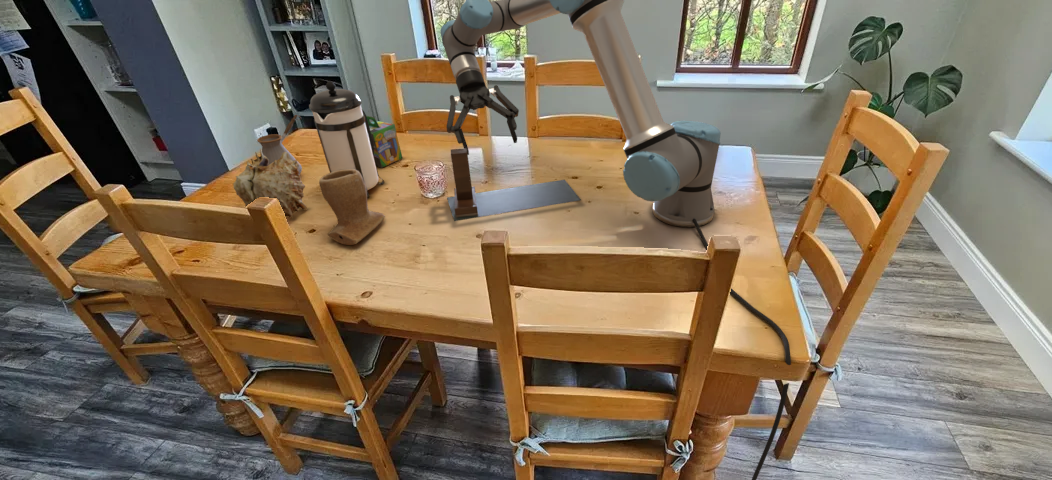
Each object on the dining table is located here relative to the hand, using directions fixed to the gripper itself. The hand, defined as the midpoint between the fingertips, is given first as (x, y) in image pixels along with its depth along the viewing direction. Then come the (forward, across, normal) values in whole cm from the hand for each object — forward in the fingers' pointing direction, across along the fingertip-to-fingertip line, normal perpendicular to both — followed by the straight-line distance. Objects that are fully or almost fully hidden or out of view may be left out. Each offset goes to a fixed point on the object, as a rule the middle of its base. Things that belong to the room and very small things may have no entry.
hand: (491, 146), depth 132 cm
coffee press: (-5, +38, -18) cm, 42 cm away
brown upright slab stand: (+14, +11, 0) cm, 18 cm away
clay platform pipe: (+13, +40, +1) cm, 42 cm away
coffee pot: (-20, +57, -30) cm, 68 cm away
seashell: (0, +58, -9) cm, 59 cm away
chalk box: (-18, +31, -31) cm, 47 cm away
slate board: (+16, -1, -2) cm, 16 cm away
